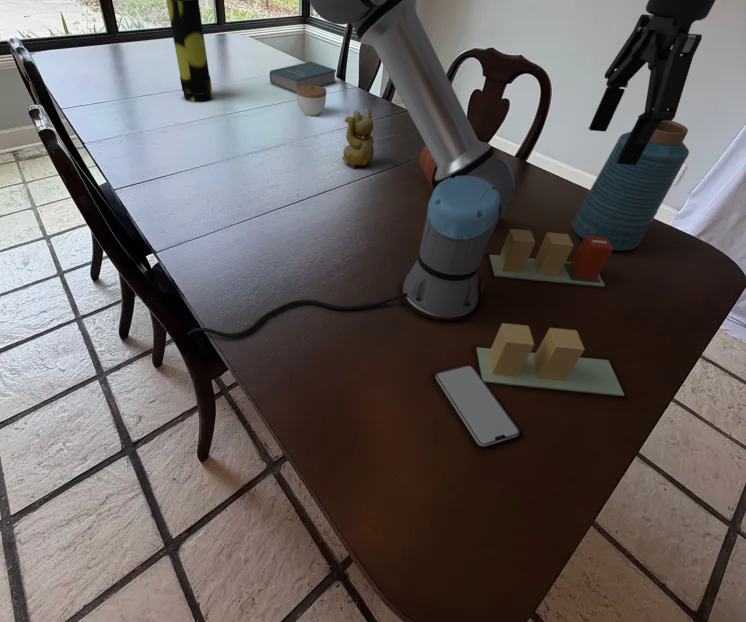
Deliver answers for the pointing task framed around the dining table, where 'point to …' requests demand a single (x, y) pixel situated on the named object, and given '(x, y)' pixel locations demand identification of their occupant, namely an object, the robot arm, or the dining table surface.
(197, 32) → the container
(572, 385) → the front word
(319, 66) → the book
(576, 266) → the red slotted block
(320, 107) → the trinket box
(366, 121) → the decorative figurine
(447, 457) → the dining table surface
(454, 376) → the smartphone
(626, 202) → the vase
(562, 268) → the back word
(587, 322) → the dining table surface
